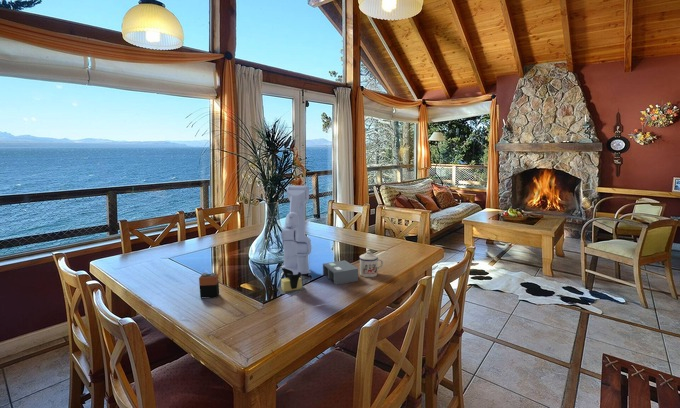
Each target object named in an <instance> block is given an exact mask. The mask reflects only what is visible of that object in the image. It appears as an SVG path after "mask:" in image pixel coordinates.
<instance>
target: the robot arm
mask: <svg viewBox="0 0 680 408" xmlns="http://www.w3.org/2000/svg"><path fill="white" fill-rule="evenodd" d="M286 197H287V198H288V201H289V213H287V214H286V217H285V221H284V227H283V228H282V229H281V233H280V236H281V237H280V239H281V243H282V246H283V265H281V270H282V272H283V275H284V278H289V280H290V285H291V288H292V289H295V288H297V284H298V280H299V277H300V278H301V275H306V274H312V271H311V270H310V269H309V267H310V265H309V255H311V252H312V242H311V241H312V240H311V238H310V237H309V236H307V235H306V203H308V202H310V201H309V200H310V188H309V186H308V185H307V184H306V185H288V186H287V187H286Z"/></svg>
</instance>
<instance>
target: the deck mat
mask: <svg viewBox="0 0 680 408" xmlns="http://www.w3.org/2000/svg"><path fill="white" fill-rule="evenodd" d="M276 289H277V290H278V292H279V293H280V294H281V295H284V294H285V295H286V294H291V293H296V292H297V293H298V292H303V291H307V288H305V287H304V285H302V289H297V290H292V291H286V292H284V291H283V290H282V289H281V286H279V287H276Z"/></svg>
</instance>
